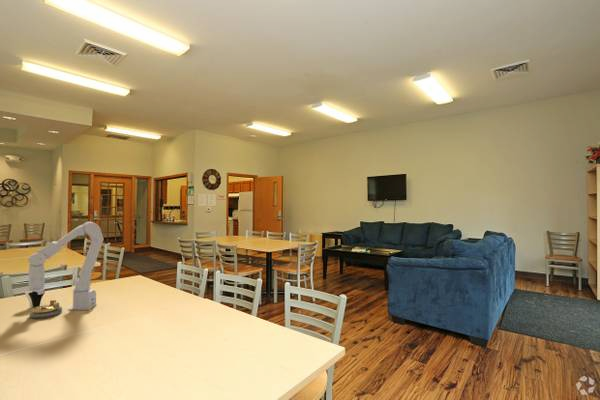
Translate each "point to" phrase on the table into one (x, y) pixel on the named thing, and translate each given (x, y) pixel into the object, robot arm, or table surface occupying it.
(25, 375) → the table surface
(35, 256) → the robot arm
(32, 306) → the lightbulb
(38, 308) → the brass lugged disc
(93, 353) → the table surface
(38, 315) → the cap base
